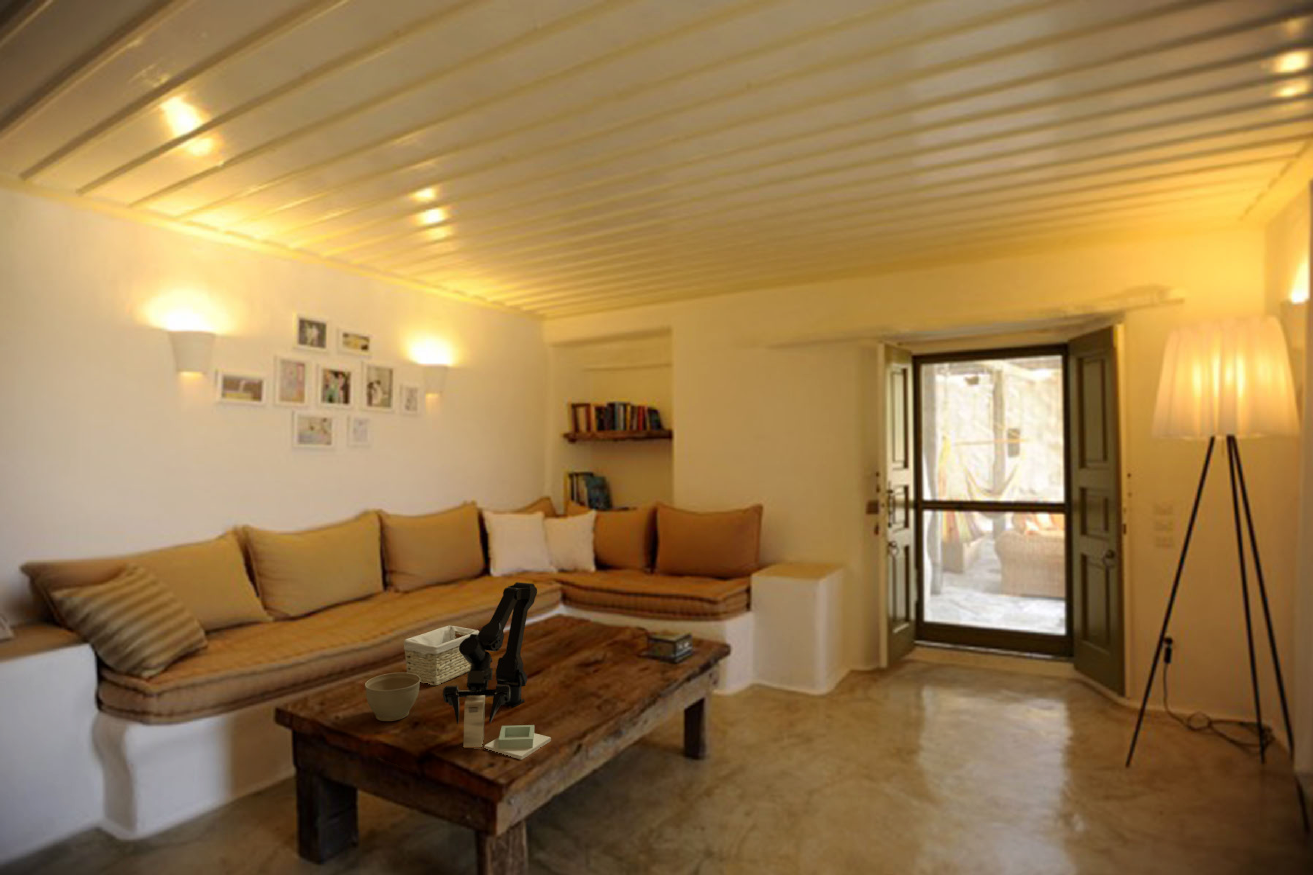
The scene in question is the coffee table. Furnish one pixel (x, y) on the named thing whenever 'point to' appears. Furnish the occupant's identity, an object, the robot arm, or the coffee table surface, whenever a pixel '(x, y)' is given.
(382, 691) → the planter bowl
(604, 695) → the coffee table surface
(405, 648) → the storage basket
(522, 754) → the board
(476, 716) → the birch cabinet block
